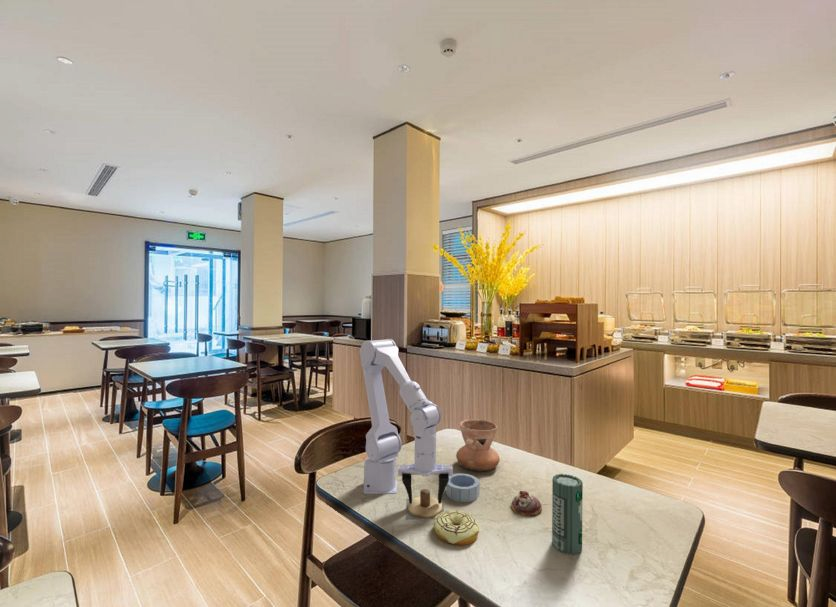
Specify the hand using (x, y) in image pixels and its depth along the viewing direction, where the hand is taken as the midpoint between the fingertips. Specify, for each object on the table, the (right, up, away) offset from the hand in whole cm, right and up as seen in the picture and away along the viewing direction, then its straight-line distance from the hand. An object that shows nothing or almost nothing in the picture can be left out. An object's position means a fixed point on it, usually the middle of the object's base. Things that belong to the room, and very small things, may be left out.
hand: (425, 501), depth 102 cm
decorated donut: (+7, -3, -11) cm, 13 cm away
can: (+32, -3, -15) cm, 35 cm away
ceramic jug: (+19, -2, +28) cm, 34 cm away
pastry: (+27, -3, +1) cm, 28 cm away
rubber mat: (0, -2, 0) cm, 2 cm away
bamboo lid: (0, -2, 0) cm, 2 cm away
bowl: (+11, -2, +8) cm, 14 cm away
